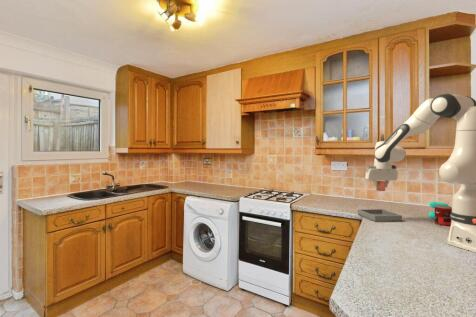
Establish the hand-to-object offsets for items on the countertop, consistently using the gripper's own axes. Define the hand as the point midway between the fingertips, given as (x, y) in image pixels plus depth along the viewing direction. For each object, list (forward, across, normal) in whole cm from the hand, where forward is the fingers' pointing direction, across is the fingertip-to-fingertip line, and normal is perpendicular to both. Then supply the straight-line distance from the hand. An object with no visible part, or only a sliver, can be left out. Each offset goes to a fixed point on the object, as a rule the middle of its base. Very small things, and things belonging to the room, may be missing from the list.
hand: (380, 187), depth 163 cm
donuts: (+20, +40, -2) cm, 45 cm away
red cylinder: (+2, 0, 0) cm, 2 cm away
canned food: (+20, +29, -16) cm, 39 cm away
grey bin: (+20, 0, +1) cm, 20 cm away
